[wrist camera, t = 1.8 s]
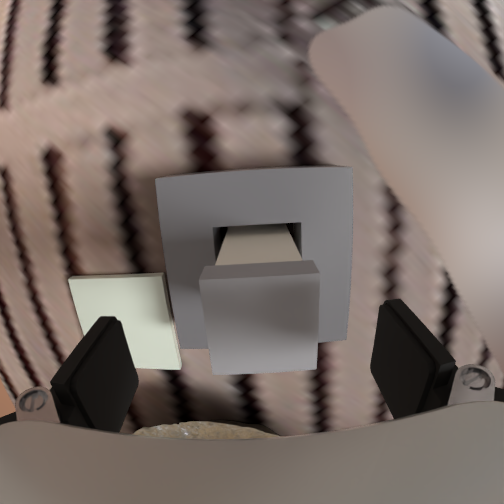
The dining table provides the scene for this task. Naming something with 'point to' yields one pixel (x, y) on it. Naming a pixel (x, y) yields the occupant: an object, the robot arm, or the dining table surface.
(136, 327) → the coaster
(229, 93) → the dining table surface
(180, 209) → the grey square ring
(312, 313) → the plug
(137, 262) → the dining table surface
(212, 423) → the stone bowl
